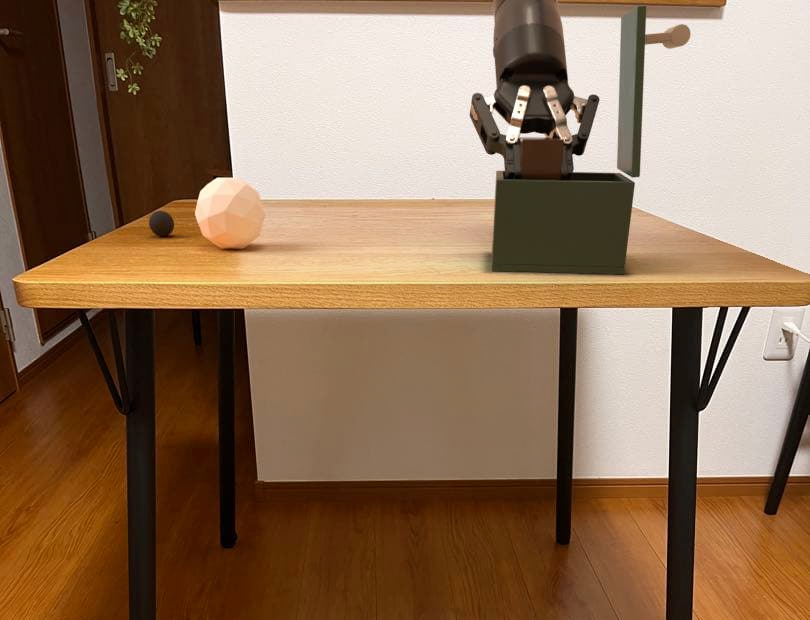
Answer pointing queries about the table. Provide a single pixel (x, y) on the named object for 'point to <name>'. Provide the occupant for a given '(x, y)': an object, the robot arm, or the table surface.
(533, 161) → the block
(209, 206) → the geometric ball
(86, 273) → the table surface
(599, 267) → the bin
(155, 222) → the marker ball
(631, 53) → the bin lid
